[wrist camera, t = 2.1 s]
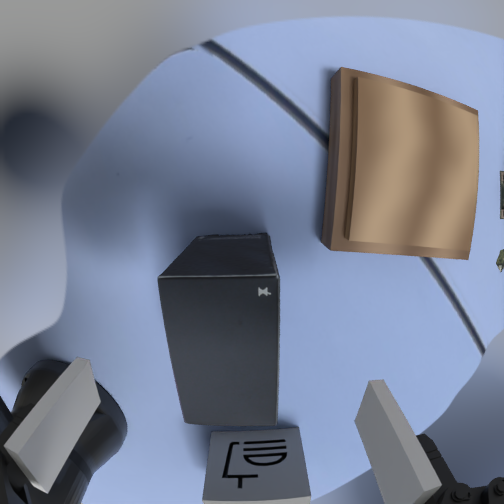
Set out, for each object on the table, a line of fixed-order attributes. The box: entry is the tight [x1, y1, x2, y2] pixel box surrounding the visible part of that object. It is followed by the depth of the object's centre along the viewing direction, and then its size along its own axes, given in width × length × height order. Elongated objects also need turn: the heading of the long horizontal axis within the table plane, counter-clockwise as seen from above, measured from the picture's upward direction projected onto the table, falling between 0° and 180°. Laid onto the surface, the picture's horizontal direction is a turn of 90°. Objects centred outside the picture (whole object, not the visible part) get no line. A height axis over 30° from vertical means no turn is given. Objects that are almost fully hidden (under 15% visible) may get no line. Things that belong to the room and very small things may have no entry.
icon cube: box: [202, 427, 311, 504], centre depth 25 cm, size 10×10×10 cm
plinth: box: [321, 67, 479, 260], centre depth 21 cm, size 14×14×4 cm
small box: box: [158, 233, 280, 426], centre depth 20 cm, size 11×6×10 cm, turn 2°
